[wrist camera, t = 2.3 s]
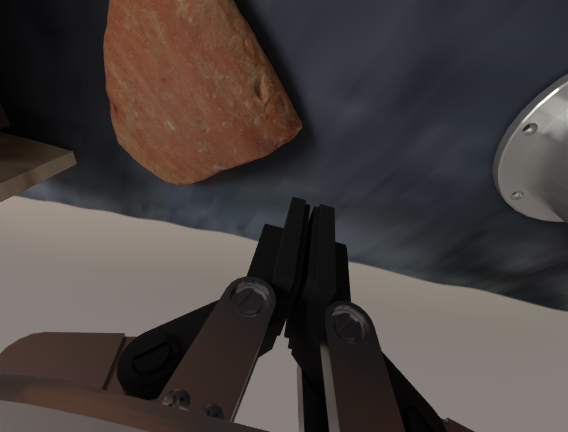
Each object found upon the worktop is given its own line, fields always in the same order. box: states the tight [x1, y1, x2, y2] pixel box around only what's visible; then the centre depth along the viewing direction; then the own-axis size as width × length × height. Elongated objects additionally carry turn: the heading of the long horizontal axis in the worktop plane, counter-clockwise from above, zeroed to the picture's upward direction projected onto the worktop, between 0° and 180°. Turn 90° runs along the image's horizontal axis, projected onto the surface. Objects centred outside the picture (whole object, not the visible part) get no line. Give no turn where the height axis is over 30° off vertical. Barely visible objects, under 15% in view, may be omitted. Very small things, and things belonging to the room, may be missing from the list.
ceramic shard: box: [103, 0, 302, 185], centre depth 20 cm, size 15×6×15 cm
